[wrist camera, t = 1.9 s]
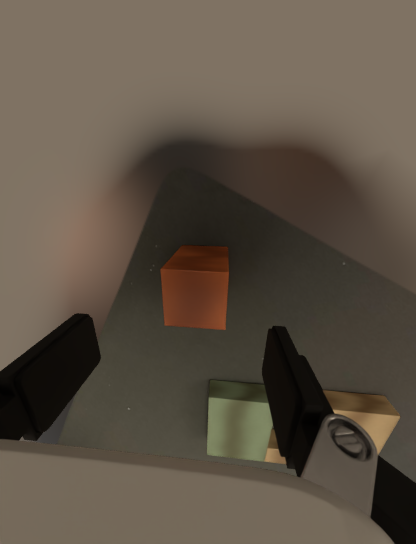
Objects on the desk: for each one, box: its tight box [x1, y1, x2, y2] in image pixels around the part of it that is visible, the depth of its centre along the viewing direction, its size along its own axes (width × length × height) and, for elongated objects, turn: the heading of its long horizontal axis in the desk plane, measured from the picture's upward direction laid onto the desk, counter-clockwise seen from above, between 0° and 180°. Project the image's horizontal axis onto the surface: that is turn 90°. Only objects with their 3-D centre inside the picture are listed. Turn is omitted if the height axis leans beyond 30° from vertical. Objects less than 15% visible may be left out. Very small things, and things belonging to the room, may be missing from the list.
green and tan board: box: [207, 380, 401, 464], centre depth 26 cm, size 22×12×2 cm, turn 89°
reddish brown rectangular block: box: [161, 245, 229, 330], centre depth 17 cm, size 5×5×7 cm
